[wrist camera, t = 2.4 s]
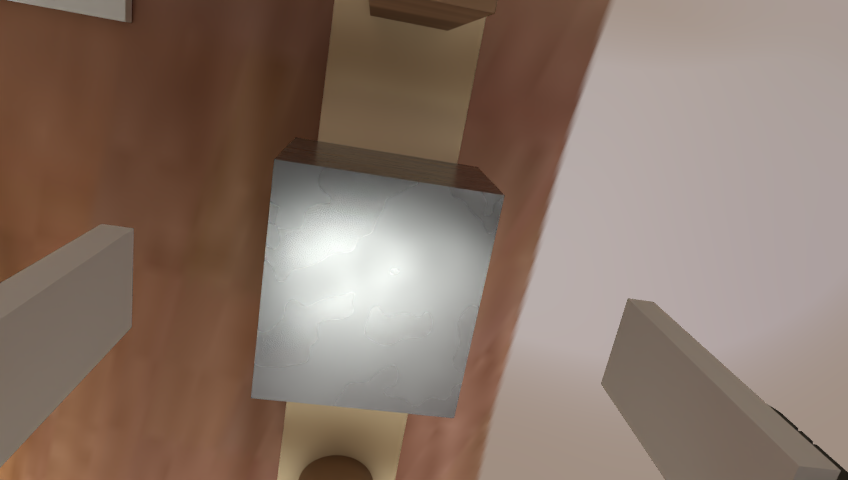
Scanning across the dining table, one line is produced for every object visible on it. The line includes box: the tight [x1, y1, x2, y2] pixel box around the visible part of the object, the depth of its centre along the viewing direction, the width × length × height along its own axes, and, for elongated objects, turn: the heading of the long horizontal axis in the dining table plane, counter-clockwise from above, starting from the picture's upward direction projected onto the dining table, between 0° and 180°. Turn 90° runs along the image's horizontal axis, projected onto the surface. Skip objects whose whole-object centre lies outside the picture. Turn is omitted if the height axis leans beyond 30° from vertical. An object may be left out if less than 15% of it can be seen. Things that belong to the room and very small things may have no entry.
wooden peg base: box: [277, 0, 498, 480], centre depth 19 cm, size 26×5×13 cm, turn 170°
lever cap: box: [251, 137, 504, 418], centre depth 17 cm, size 7×6×4 cm
